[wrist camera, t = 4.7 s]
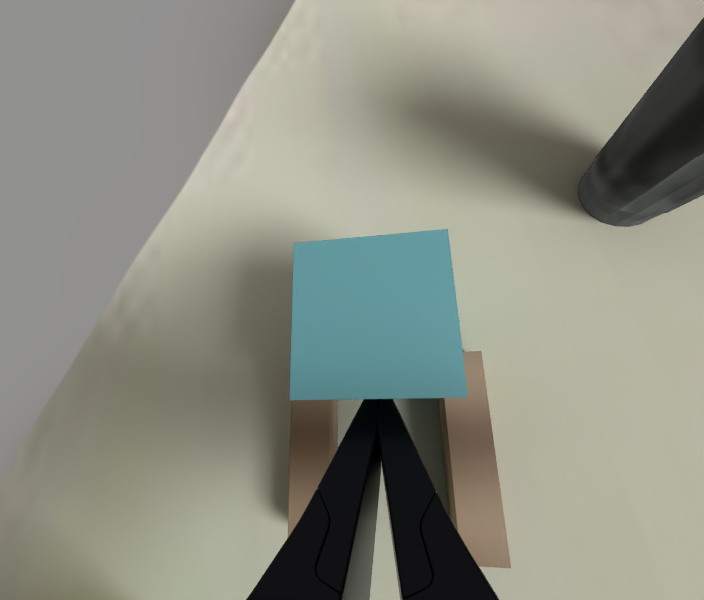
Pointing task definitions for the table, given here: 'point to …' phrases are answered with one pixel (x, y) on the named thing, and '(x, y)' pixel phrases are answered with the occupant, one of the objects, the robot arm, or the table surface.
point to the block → (376, 319)
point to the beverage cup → (654, 147)
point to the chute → (459, 455)
